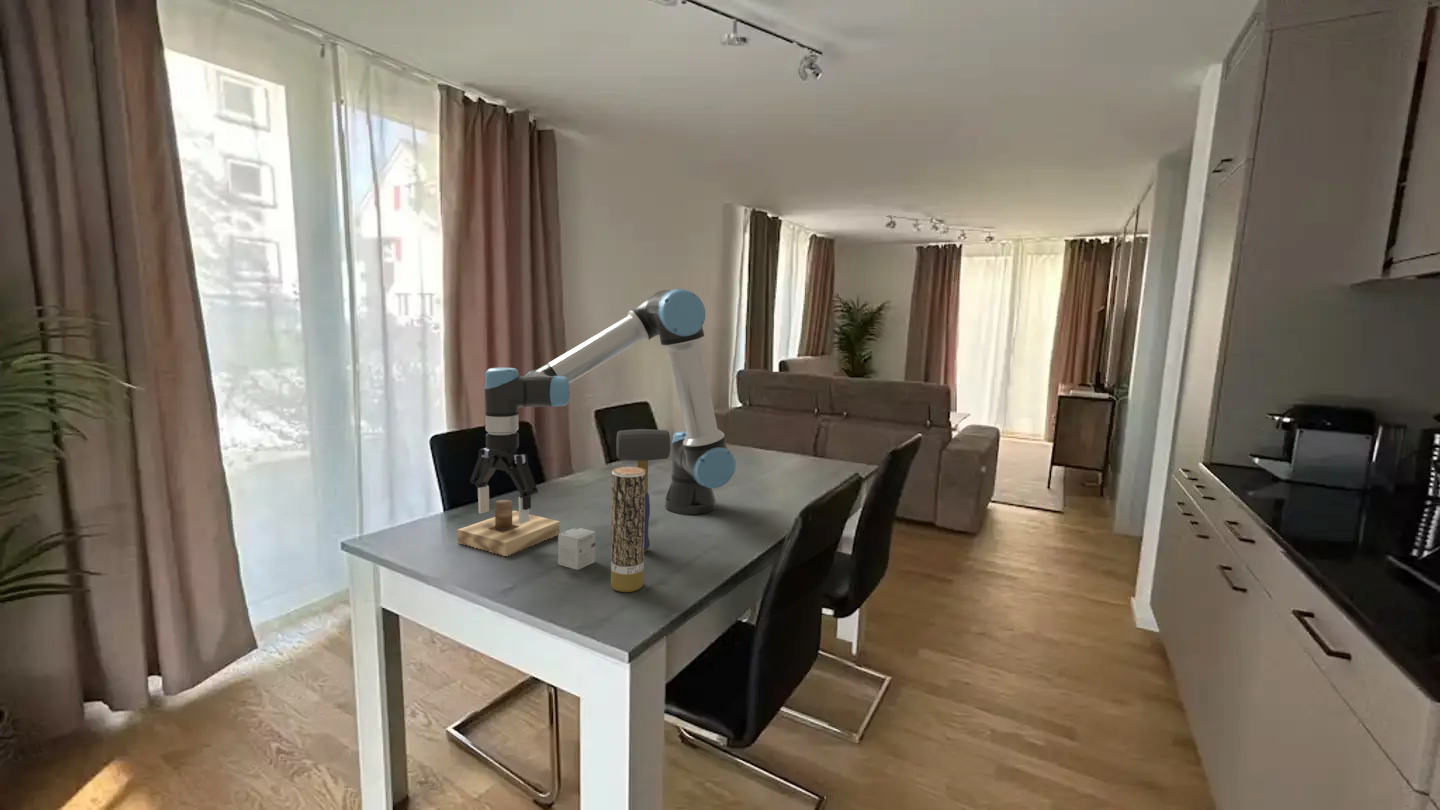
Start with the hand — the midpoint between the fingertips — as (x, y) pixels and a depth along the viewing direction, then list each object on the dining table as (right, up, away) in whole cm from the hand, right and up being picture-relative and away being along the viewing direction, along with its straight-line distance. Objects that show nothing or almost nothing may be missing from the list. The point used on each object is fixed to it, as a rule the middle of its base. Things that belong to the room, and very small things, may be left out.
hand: (503, 517), depth 153 cm
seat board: (+1, -6, +3) cm, 7 cm away
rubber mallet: (+34, -8, -2) cm, 35 cm away
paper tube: (+34, -11, -22) cm, 42 cm away
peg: (0, -6, +1) cm, 6 cm away
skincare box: (+21, -9, -11) cm, 25 cm away
